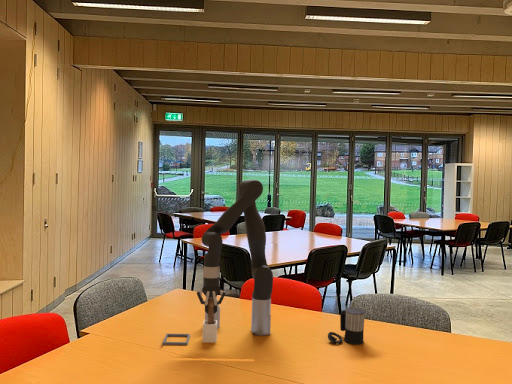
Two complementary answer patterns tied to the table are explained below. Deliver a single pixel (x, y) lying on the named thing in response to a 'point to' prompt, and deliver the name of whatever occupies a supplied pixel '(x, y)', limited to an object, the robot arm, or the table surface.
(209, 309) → the dowel
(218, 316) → the can
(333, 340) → the milk frother
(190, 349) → the table surface
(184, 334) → the tray
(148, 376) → the table surface
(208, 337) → the cup
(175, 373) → the table surface
